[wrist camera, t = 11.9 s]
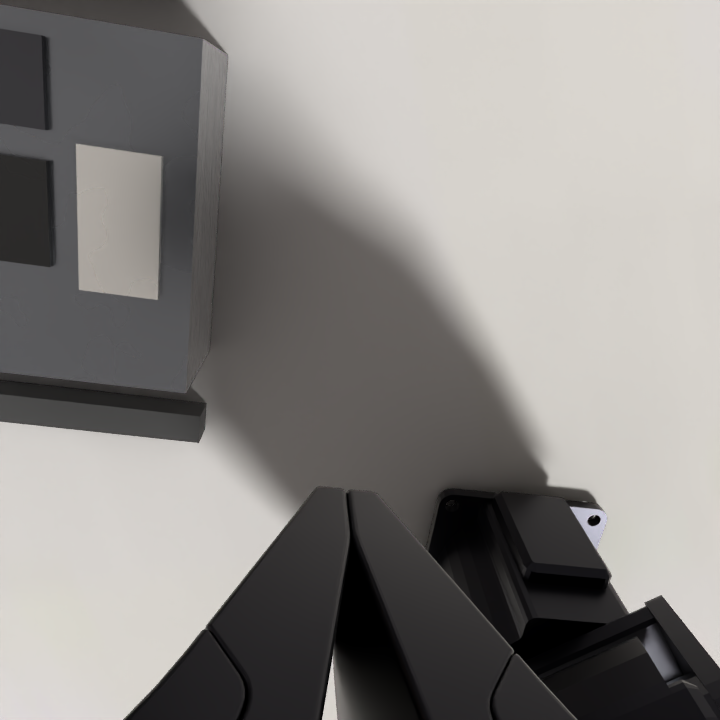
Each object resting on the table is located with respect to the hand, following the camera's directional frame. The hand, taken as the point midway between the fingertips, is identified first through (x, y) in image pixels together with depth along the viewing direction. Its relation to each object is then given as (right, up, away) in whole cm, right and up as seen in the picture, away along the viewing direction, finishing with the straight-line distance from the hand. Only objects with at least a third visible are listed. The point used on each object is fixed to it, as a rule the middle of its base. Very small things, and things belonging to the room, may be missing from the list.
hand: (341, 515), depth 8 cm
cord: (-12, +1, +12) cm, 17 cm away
